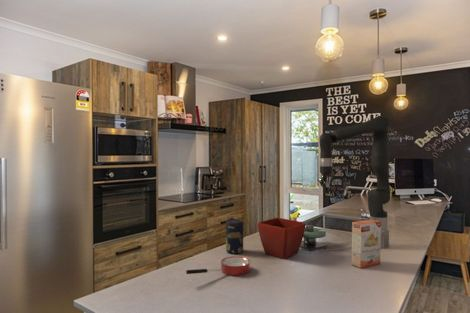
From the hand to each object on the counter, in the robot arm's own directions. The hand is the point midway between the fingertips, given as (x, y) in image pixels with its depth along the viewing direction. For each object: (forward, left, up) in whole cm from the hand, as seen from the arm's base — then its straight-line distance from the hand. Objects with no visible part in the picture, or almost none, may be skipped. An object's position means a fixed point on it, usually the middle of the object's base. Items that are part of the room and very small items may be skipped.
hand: (326, 193), depth 191 cm
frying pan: (-7, +84, -29) cm, 90 cm away
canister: (+16, +59, -29) cm, 68 cm away
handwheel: (-2, +18, -22) cm, 28 cm away
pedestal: (-2, +18, -29) cm, 34 cm away
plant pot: (-2, +41, -29) cm, 50 cm away
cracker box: (-38, +20, -29) cm, 52 cm away
